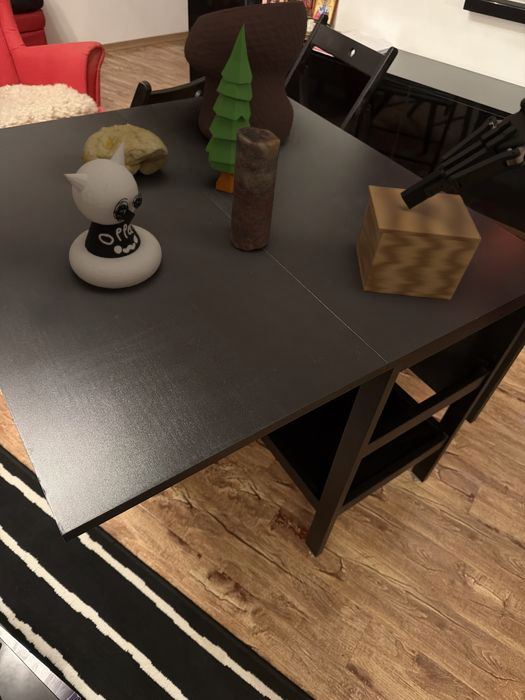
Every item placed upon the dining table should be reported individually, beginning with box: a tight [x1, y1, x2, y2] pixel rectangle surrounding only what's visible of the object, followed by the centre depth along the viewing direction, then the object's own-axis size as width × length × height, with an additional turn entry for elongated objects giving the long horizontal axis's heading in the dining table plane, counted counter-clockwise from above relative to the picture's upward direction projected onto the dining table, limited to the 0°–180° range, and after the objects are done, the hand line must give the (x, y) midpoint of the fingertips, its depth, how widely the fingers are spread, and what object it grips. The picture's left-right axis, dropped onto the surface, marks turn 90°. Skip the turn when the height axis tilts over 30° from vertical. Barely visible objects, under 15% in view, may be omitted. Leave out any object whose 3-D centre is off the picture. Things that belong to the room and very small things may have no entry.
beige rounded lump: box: [82, 122, 169, 176], centre depth 99 cm, size 17×11×15 cm
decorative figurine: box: [63, 141, 163, 289], centre depth 74 cm, size 15×15×20 cm
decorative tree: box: [205, 24, 252, 194], centre depth 92 cm, size 10×9×30 cm
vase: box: [183, 0, 309, 146], centre depth 113 cm, size 27×27×30 cm
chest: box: [355, 198, 480, 301], centre depth 84 cm, size 16×14×12 cm
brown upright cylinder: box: [229, 127, 281, 251], centre depth 83 cm, size 8×7×20 cm
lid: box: [367, 184, 482, 244], centre depth 79 cm, size 16×14×1 cm
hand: (404, 201), depth 78 cm, fingers closed
